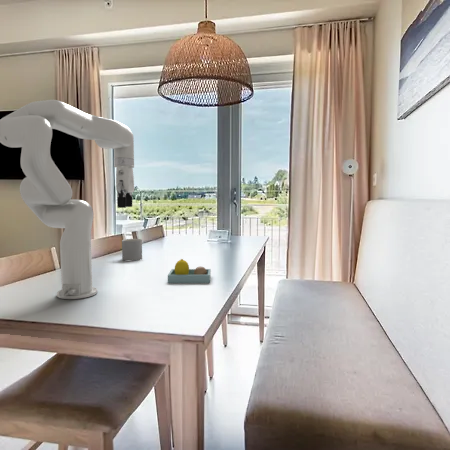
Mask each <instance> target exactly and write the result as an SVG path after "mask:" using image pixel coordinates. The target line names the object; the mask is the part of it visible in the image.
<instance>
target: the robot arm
mask: <svg viewBox="0 0 450 450" xmlns="http://www.w3.org/2000/svg"><path fill="white" fill-rule="evenodd" d="M53 130H57V131H60V132H62V133H65V134H67V135H70V136H73V137H75V138H77V139H83V140H91V141H92V140H93V141H94V142H95V144H96V146H98V147H99V148H101V149H107V150H108V149H111V150H112V149H113V163H114V164H113V165H114V168H116V171H115V187H116V192H117V195H116V196H117V197H116V201H117V206H116V207H117V208H119V209H121V208H122V209H124V208H132V207H133V193H134V192H135V180H134V179H135V177H134V168H135V145H134V141H135V140H134V133H133V132H132V130H131V129H130V128H129V127H128V126H127V125H125V124H123V123H121V122H119V121H117V120H114V119H110V118H106V117H102V116H99V115H93V114H89V113H86V112H84V111H83V110H80V109H78V108H76V107H74V106H72V105H70V104H68V103H65V102H63V101H61V100H57V99H47V100H45V99H44V100H38V101H37V100H36V101H32V102H29V103H27V104H25V105H23V106H21V107H20V108H18V109H16V110H14V111H13V112H11V113H9V114H6V115H5V116H3V117H2V118H1V119H0V144H1V145H3V146H5V147H8V148H12V149H13V148H21V153H20V168H21V169H22V172H23V174H24V175H25V177H24V178H23V179H22V181H21V182H20V185H19V193H20V198H21V199H22V201H23V202H24V203H25V205H26V206H27V208H29V210H31V212H32V213H33V214H34V215H35V216H36V217H37V218H38V219H39V220H40V221H41V222H42V224H44V225H45V226H47V227H48V228H54V229H55V228H56V229H63V232H62V234H61V237H60V241H59V252H60V256H59V257H60V274H61V275H60V277H61V278H60V280H61V290H59V291H57V292H56V297H57V298H59V299H62V300H77V299H80V300H81V299H85V298H91V297H93V296H94V295H97V293H98V288H97V287H94V286H93V266H92V265H93V264H92V263H93V261H92V228H93V222H94V210H93V207H92V205H91V204H90V203H89V202H87V201H85V200H82V199H72V197H73V194H74V193H73V188H72V187H71V184H69V181H68V180H67V179H66V178H65V176H64V174H63V173H62V172H61V171H60V169H59V168H58V166H57V165H56V164H55V161H54V160H53V158H52V156H51V144H52V143H51V142H52V139H53Z"/></svg>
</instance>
